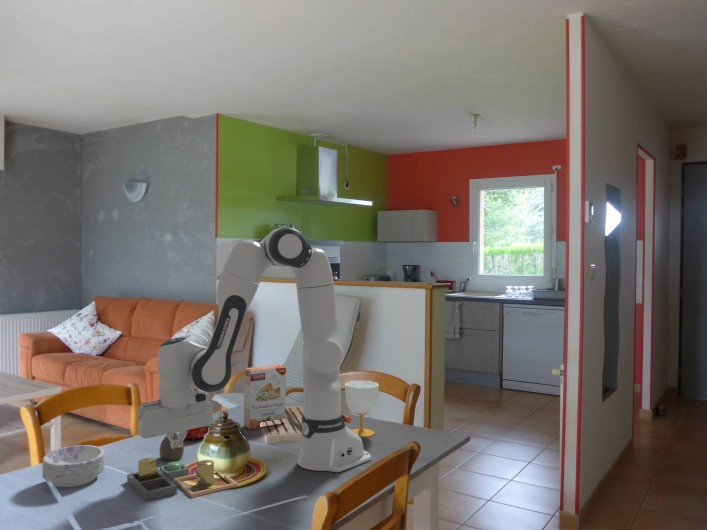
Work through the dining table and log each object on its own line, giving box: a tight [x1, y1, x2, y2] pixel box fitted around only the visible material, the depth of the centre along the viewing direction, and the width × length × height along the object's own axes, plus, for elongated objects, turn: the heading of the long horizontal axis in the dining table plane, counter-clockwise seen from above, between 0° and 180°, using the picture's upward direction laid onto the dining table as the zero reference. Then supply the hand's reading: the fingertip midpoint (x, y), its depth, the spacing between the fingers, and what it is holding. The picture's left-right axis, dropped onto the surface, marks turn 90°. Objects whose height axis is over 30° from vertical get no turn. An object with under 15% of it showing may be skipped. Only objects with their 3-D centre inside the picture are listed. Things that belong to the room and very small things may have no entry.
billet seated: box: [137, 457, 157, 482], centre depth 161 cm, size 4×4×6 cm
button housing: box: [159, 462, 190, 481], centre depth 167 cm, size 6×6×3 cm
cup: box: [344, 379, 380, 438], centre depth 209 cm, size 12×12×17 cm
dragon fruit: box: [178, 425, 209, 441], centre depth 201 cm, size 8×8×12 cm
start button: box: [166, 461, 182, 472], centre depth 167 cm, size 4×4×3 cm
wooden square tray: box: [173, 472, 238, 498], centre depth 161 cm, size 13×13×2 cm
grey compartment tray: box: [126, 467, 178, 502], centre depth 158 cm, size 8×15×3 cm, turn 36°
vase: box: [159, 432, 185, 463], centre depth 180 cm, size 7×7×9 cm
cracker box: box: [243, 364, 287, 430], centre depth 217 cm, size 14×6×21 cm, turn 124°
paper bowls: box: [42, 444, 106, 488], centre depth 163 cm, size 15×15×8 cm
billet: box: [196, 459, 215, 488], centre depth 161 cm, size 4×4×6 cm
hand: (177, 447), depth 167 cm, fingers closed
